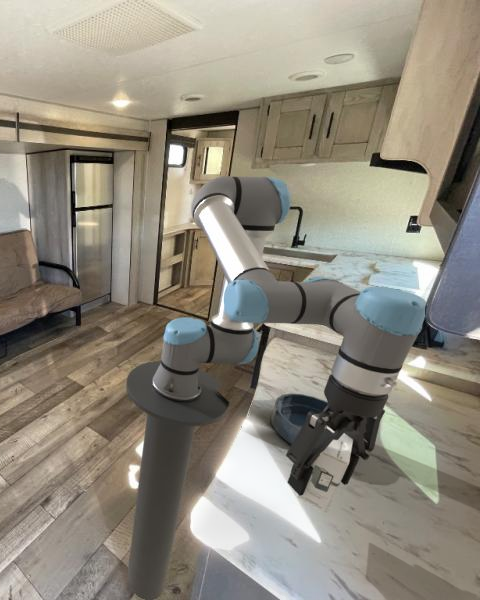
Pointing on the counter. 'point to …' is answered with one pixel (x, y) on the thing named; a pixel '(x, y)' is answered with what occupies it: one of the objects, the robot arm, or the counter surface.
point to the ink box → (328, 473)
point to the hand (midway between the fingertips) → (317, 483)
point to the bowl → (294, 413)
